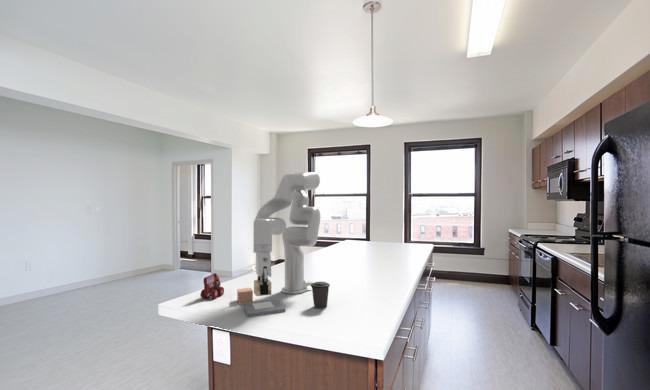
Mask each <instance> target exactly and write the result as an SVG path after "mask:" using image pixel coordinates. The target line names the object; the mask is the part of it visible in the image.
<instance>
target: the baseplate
mask: <svg viewBox="0 0 650 390" xmlns="http://www.w3.org/2000/svg"><path fill="white" fill-rule="evenodd" d="M241 305H242V309H243V310H244V313H245V316H246V317H247V318H249V317H256V316H263V315H264V316H265V315H270V314H277V313H278V314H279V313H285V312H286V307H285V306H284V305H283V303H282V302H280V300H279V299H278V298H277V297H276V298H269V299H262V300H261V299H260V300H253V301H251V302H243V303H241Z"/></svg>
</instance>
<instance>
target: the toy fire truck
mask: <svg viewBox="0 0 650 390" xmlns="http://www.w3.org/2000/svg"><path fill="white" fill-rule="evenodd" d="M203 288H204V289H202V290H201V291H200V298H201V299H207V298H209V297H210V298H211V299H212V300H217V299H218V297H221V296H224V293H225V288H224V287H223V286H221V281H220V277H219V276H218V275H217V273H216V272H214V273H212V274H211V275H207V276H205V277H204V278H203Z"/></svg>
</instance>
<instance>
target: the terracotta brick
mask: <svg viewBox="0 0 650 390" xmlns="http://www.w3.org/2000/svg"><path fill="white" fill-rule="evenodd" d="M253 294H254V290H253V289H252V287H245V288H238V289H237V298H236V299H237V303H238V305H239V304H241V305H242V303H243V302H251V301H254V300H253Z"/></svg>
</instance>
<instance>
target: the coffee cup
mask: <svg viewBox="0 0 650 390" xmlns="http://www.w3.org/2000/svg"><path fill="white" fill-rule="evenodd" d="M330 286H331V285H330V283H329V282H325V281H316V282H313V283H312V284H311V286H310V287H311V291H312V299H313V301H312V302H313V307H314V308H315V309H319V310H323V308H324V309H326V308H327V307H328V298H329V289H330Z"/></svg>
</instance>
